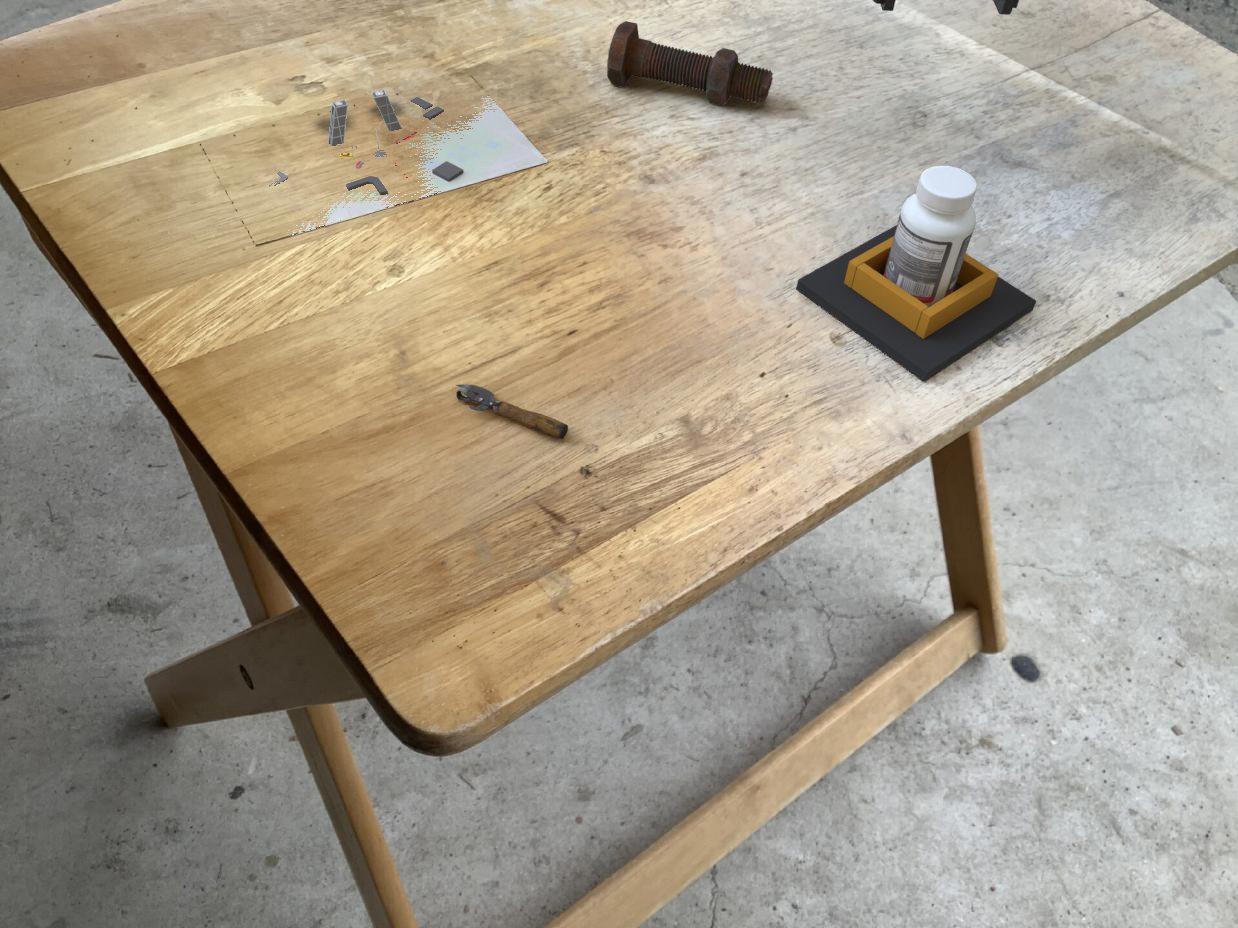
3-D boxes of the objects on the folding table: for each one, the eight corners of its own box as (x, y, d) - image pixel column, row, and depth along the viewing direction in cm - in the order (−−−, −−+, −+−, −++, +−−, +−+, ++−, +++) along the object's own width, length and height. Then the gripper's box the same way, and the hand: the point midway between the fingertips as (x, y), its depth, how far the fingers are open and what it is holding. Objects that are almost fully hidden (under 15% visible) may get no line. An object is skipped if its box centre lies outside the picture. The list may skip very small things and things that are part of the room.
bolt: (760, 128, 103) (610, 92, 105) (775, 81, 104) (625, 47, 106) (762, 95, 97) (603, 58, 100) (778, 46, 98) (620, 10, 101)
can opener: (570, 433, 74) (570, 421, 73) (550, 454, 73) (550, 443, 72) (463, 381, 77) (462, 369, 76) (443, 401, 76) (441, 389, 75)
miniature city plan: (255, 246, 86) (244, 206, 83) (198, 143, 95) (187, 104, 93) (548, 162, 95) (547, 124, 92) (471, 75, 104) (468, 38, 101)
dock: (1033, 310, 84) (1046, 278, 82) (924, 382, 79) (935, 350, 76) (904, 228, 91) (914, 196, 88) (795, 289, 85) (802, 256, 83)
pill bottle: (921, 259, 87) (954, 152, 79) (965, 299, 84) (1004, 191, 76) (866, 278, 85) (895, 171, 77) (910, 320, 82) (944, 212, 74)
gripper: (833, -146, 86) (862, -56, 75) (1013, -140, 86) (1067, -50, 75) (817, -49, 92) (842, 47, 81) (986, -44, 92) (1033, 53, 81)
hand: (950, 0), depth 78 cm, fingers open, 8 cm apart
